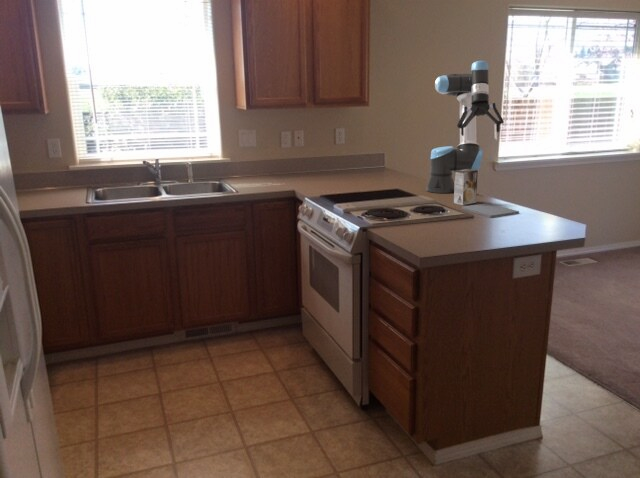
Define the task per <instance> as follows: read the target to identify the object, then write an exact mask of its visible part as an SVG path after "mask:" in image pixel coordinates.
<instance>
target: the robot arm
mask: <svg viewBox="0 0 640 478" xmlns="http://www.w3.org/2000/svg"><path fill="white" fill-rule="evenodd" d="M489 69H490V68H489V63H488V62H487V61H485V60H476V61H474V62H473V63H472V64H471V69H470V71H471V72H469V73H467V72H466V73H465V72H464V73H447V74H443V75H441V76H438V77H437V78H436V80H435V82H434V90H435V92H437V93H439V94H440V95H443V96H452V97H455V96H456V100H457V101H458V102H459V120H458V122H457V128H458V129H459V144H458V145H456V148H454V146H451V145H450V146H449V145H448V146H439V147H435V148H433V149H432V150H431V151H430V172H429V179H428V181H427V185H426V188H425V189H426V190H425V191H426V192H428V193H429V192H430V193H435V194H448V193H454V187H455V180H454V177H453V172H455V171H457V170H464V169H472V170H478V171H479V170H480V168H481V167H482V161H483V154H484V151H483V149H482V148H480V144H479V143H477V117H481V116H485V115H486V116H487V117H488V118H489V119H491V120H492V122H493V123H494V140H495V141H498V133H500V131H501V130H500V129H501V128H500V127H501V125H502V124H504V123H505V121H504V119H503V118H502V115H501V114H500V112H499V111H498V109H497V105H496V102H492V104H489V103H490V100H489V99H490V97H489V93H490V92H489V87H490V86H489ZM490 109H491V110H493V111H494V113H495V115H496V117H497V118H496V117H494V116H493V114H491V112H489V110H490Z"/></svg>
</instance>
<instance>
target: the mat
mask: <svg viewBox="0 0 640 478" xmlns="http://www.w3.org/2000/svg"><path fill="white" fill-rule="evenodd" d="M461 210H465V211H467V212H471V213H474V214H477V215H479V216H483V217H487V218H489V219H492V218H499V217H505V216H511V215H512V216H513V215H519V214H520V211H519V210H516V209H513V208H509V207H505V206H501V205H497V204H494V203H490V202H486V203H485V202H484V203H480V204H478V203H477V204H469V205H462V206H461Z"/></svg>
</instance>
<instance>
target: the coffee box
mask: <svg viewBox="0 0 640 478" xmlns="http://www.w3.org/2000/svg"><path fill="white" fill-rule="evenodd" d="M478 171H479V170H472V169H464V170H457V171H454V185H455V187H454V192H453V204H455V205H461V206H468V205H473V204H477V195H478V193H477V192H478V191H477V190H478V176H479V175H478V174H479V173H478Z"/></svg>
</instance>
